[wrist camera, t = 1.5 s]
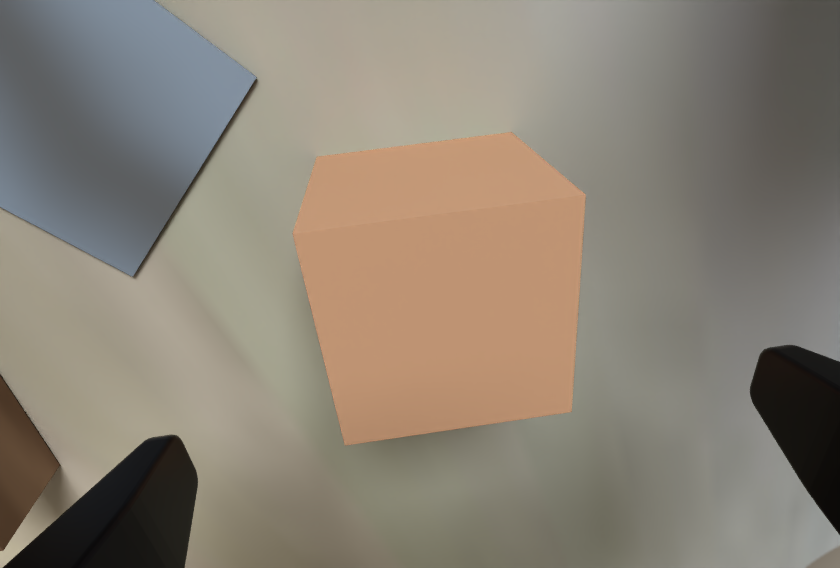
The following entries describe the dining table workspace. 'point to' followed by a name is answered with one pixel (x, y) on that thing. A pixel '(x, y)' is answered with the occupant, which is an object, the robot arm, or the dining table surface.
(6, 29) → the arena
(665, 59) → the dining table surface
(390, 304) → the cube
